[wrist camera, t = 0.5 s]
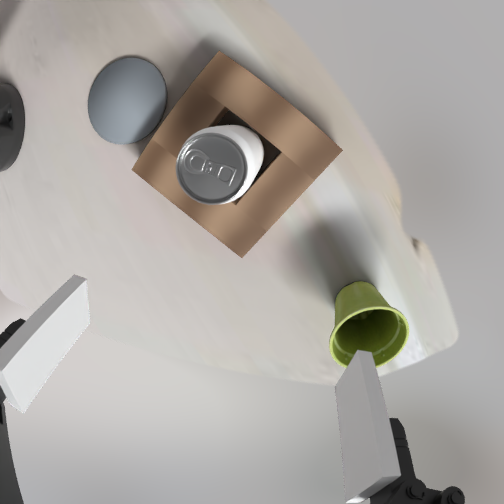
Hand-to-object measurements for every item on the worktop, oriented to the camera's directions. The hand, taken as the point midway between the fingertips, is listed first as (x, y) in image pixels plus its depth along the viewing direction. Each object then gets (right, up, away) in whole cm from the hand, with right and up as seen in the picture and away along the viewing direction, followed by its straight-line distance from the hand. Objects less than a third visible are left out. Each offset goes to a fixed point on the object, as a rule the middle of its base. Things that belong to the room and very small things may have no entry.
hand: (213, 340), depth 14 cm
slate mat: (-13, +22, +18) cm, 32 cm away
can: (0, +15, +20) cm, 25 cm away
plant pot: (+16, -2, +26) cm, 31 cm away
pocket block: (0, +15, +20) cm, 25 cm away
